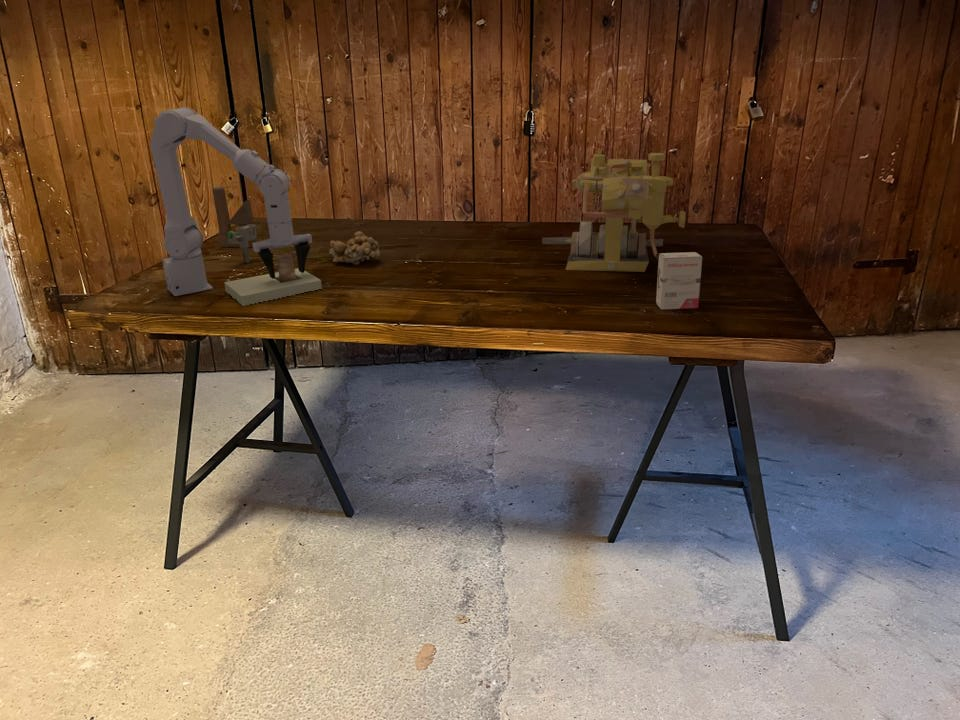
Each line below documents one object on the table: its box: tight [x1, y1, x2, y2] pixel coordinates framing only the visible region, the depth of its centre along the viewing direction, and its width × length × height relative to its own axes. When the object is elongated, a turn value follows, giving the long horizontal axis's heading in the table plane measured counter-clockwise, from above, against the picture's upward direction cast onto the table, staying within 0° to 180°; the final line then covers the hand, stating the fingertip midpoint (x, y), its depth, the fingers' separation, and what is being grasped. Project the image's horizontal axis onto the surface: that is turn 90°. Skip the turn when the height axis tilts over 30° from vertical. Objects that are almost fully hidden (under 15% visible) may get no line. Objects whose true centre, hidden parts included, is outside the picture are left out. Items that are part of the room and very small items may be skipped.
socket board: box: [223, 267, 323, 307], centre depth 180 cm, size 20×14×2 cm
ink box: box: [655, 251, 703, 310], centre depth 160 cm, size 9×5×12 cm, turn 92°
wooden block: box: [212, 186, 257, 248], centre depth 220 cm, size 4×11×18 cm, turn 83°
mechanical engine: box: [541, 148, 686, 273], centre depth 188 cm, size 39×37×30 cm
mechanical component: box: [226, 224, 258, 264], centre depth 204 cm, size 3×10×10 cm, turn 152°
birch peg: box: [276, 254, 296, 283], centre depth 181 cm, size 4×4×8 cm
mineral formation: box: [329, 231, 381, 266], centre depth 201 cm, size 8×13×15 cm
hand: (287, 274), depth 181 cm, fingers open, 7 cm apart
